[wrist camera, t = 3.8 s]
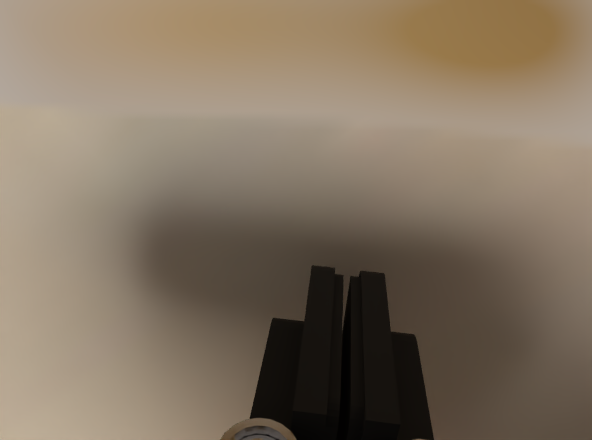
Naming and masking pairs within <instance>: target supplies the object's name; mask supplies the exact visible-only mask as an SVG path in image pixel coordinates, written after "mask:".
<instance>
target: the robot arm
mask: <svg viewBox="0 0 592 440" xmlns="http://www.w3.org/2000/svg"><path fill="white" fill-rule="evenodd" d="M342 316H343V275H337V274H335V268H331V267H321V266H312V268H311V276H310V283H309V291H308V299H307V306H306V314H305V321H295V320H286V319H278V318H273V319H272V322H271V326H270V331H269V335H268V340H267V344H266V349H265V353H264V357H263V362H262V366H261V371H260V375H259V380H258V384H257V389H256V393H255V397H254V402H253V406H252V411H251V415H250V419H248V420H244V421H242V422H240V423H237V424H235V425H234V426H232V427H231V428H230V429H229V430H228V431H226V432H225V433H224V435H223V436H222V438H221V439H220V440H434V437H433V432H432V426H431V420H430V414H429V408H428V403H427V397H426V391H425V385H424V380H423V374H422V368H421V362H420V356H419V351H418V345H417V340H416V337H415V335H414V334H406V333H398V332H391V329H390V320H389V310H388V301H387V292H386V282H385V275H384V273H376V272H367V271H360V274H359V277H356V276H351V277H350V282H349V289H348V296H347V303H346V310H345V317H344V324H343V331H342Z"/></svg>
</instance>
